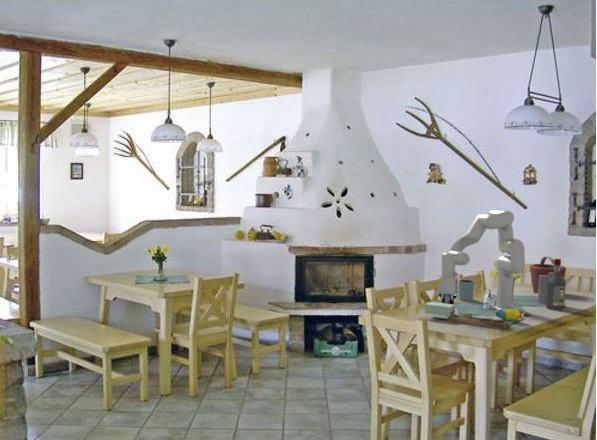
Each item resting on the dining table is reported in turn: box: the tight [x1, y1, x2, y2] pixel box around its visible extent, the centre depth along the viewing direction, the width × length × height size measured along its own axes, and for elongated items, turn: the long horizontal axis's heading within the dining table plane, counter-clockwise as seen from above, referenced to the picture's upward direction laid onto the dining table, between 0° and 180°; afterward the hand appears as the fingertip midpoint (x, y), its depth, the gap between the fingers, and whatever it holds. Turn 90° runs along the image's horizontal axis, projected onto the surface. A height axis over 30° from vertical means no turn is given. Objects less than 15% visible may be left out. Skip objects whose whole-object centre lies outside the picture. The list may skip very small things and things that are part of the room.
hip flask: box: [537, 273, 566, 305], centre depth 422 cm, size 16×4×20 cm, turn 51°
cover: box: [424, 301, 456, 317], centre depth 373 cm, size 9×14×5 cm, turn 59°
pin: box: [444, 294, 451, 304], centre depth 389 cm, size 4×4×8 cm
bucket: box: [529, 256, 567, 294], centre depth 464 cm, size 24×22×25 cm
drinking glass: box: [458, 279, 476, 302], centre depth 433 cm, size 10×10×12 cm
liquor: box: [545, 258, 567, 311], centre depth 409 cm, size 9×9×30 cm
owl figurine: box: [494, 306, 527, 326], centre depth 371 cm, size 28×9×15 cm
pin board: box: [447, 313, 509, 330], centre depth 363 cm, size 9×30×4 cm, turn 59°
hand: (447, 305), depth 389 cm, fingers closed on pin, 4 cm apart
